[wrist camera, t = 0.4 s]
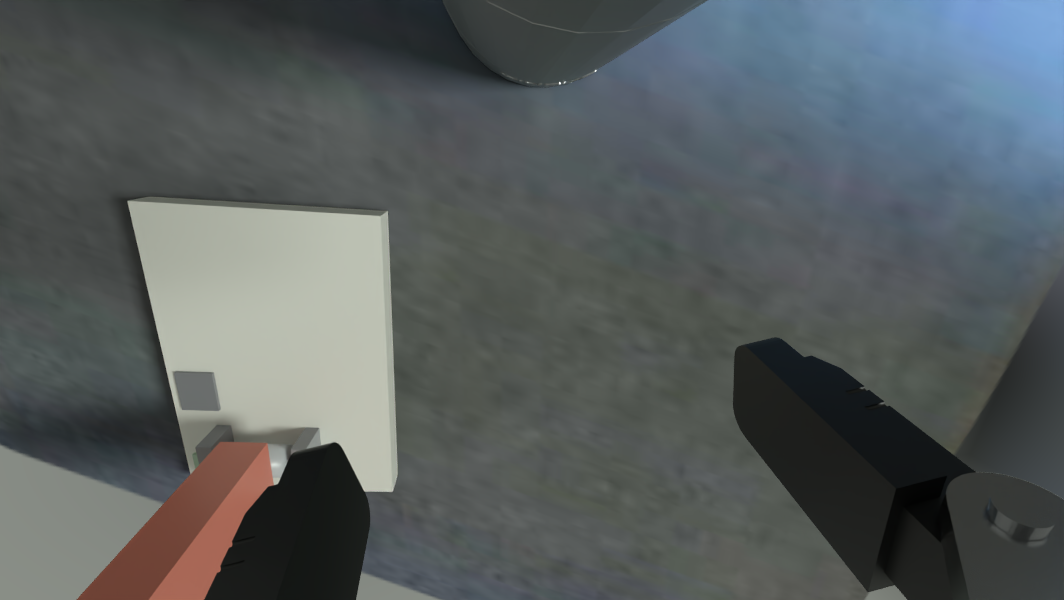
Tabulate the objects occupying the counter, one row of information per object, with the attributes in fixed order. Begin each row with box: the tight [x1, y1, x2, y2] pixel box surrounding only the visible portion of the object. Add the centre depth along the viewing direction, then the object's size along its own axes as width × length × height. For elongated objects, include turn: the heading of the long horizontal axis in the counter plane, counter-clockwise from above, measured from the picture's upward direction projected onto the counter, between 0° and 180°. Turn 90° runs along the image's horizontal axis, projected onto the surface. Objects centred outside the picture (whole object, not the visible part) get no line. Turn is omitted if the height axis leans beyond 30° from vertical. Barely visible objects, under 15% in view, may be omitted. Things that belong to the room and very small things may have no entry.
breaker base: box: [127, 197, 398, 492], centre depth 26 cm, size 18×12×4 cm
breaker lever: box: [77, 442, 293, 600], centre depth 21 cm, size 4×3×13 cm
